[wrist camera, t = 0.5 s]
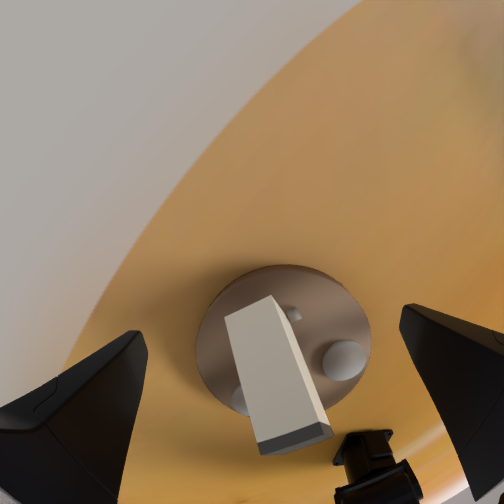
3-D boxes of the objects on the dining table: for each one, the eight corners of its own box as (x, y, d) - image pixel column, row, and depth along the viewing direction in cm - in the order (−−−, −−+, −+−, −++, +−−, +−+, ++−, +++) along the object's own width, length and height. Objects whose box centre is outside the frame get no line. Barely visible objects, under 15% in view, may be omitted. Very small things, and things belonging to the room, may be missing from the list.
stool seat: (380, 365, 25) (392, 384, 21) (249, 422, 27) (248, 444, 23) (324, 232, 23) (335, 238, 19) (170, 311, 24) (157, 327, 21)
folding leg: (287, 317, 21) (334, 436, 14) (246, 336, 22) (281, 454, 15) (271, 294, 19) (324, 434, 12) (224, 317, 19) (260, 455, 12)
